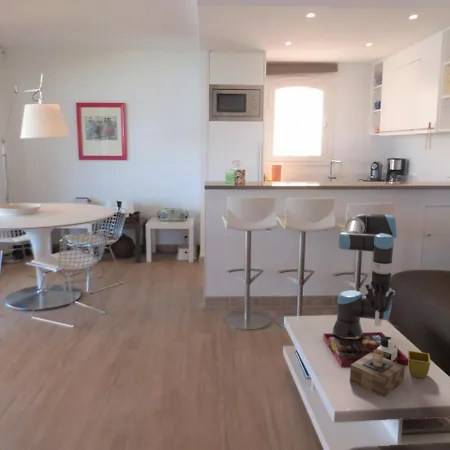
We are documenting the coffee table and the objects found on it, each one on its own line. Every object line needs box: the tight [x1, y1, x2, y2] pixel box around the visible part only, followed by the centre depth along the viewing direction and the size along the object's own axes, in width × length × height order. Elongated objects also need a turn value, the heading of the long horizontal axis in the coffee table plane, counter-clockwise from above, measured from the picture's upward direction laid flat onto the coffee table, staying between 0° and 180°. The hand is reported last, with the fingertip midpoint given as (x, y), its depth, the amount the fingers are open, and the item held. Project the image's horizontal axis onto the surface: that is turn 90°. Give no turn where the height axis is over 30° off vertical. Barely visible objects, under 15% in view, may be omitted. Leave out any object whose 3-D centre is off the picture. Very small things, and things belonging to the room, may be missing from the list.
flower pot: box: [407, 350, 431, 379], centre depth 202 cm, size 9×9×9 cm
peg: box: [372, 348, 383, 369], centre depth 195 cm, size 4×4×8 cm
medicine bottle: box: [376, 336, 399, 361], centre depth 212 cm, size 7×7×12 cm
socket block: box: [349, 352, 405, 398], centre depth 196 cm, size 16×16×8 cm
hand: (377, 325), depth 193 cm, fingers closed
